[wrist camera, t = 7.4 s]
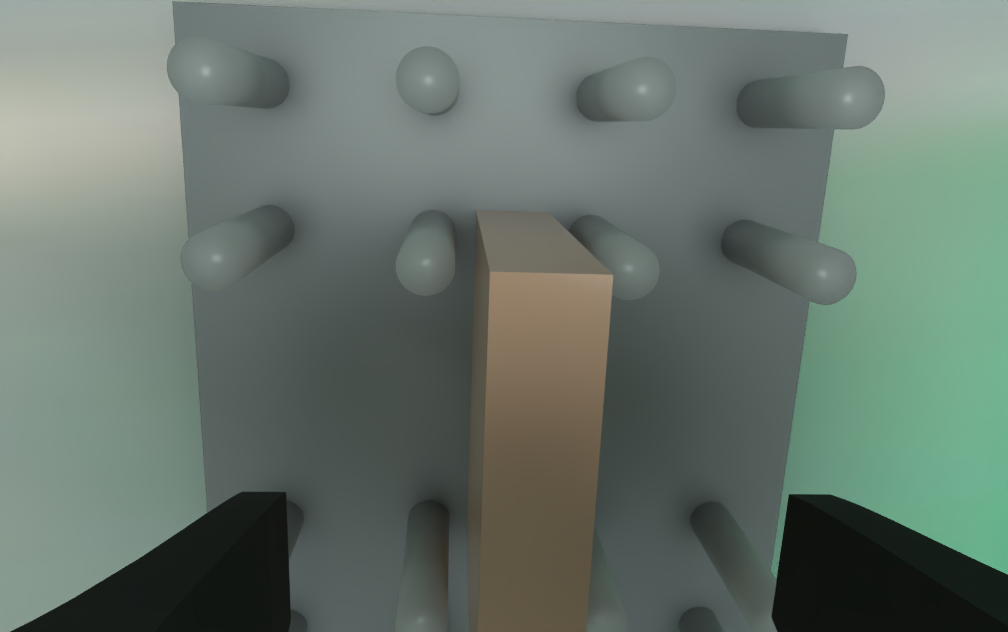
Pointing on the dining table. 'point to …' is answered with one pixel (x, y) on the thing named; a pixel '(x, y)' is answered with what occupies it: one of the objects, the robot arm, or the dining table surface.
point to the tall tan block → (534, 423)
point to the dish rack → (450, 285)
